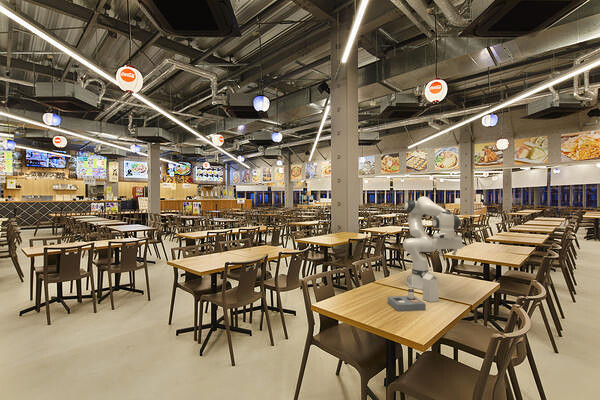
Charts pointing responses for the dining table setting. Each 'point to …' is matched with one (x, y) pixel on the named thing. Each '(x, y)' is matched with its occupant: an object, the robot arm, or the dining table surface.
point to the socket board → (406, 303)
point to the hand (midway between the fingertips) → (447, 255)
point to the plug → (410, 294)
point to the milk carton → (430, 287)
